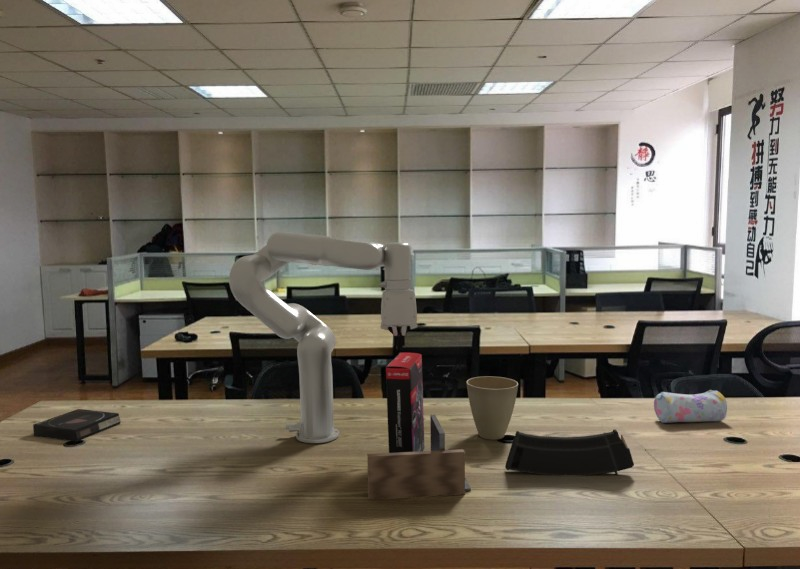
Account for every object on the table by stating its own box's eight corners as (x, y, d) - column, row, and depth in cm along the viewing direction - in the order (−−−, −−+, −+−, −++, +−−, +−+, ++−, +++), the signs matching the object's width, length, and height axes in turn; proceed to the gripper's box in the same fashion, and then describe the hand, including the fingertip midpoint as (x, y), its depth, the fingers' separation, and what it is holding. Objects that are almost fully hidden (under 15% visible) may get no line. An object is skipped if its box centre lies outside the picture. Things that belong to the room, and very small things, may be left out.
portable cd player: (77, 443, 174) (76, 430, 174) (34, 437, 180) (33, 424, 179) (120, 425, 190) (120, 413, 189) (79, 420, 195) (78, 408, 195)
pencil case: (712, 415, 191) (713, 386, 191) (730, 424, 183) (731, 393, 182) (650, 418, 189) (651, 389, 188) (666, 427, 180) (667, 397, 179)
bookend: (439, 492, 137) (439, 433, 136) (430, 468, 151) (430, 414, 150) (470, 491, 138) (470, 432, 137) (458, 467, 152) (458, 413, 150)
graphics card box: (413, 475, 147) (412, 366, 145) (386, 473, 149) (384, 365, 146) (424, 450, 164) (424, 352, 162) (400, 448, 165) (398, 351, 163)
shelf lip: (368, 499, 134) (367, 456, 133) (368, 496, 135) (367, 454, 135) (464, 494, 136) (464, 451, 135) (463, 491, 138) (463, 449, 137)
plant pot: (495, 448, 164) (495, 391, 163) (456, 435, 176) (455, 382, 174) (528, 435, 174) (528, 382, 173) (489, 424, 185) (489, 373, 184)
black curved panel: (496, 439, 146) (617, 405, 143) (495, 434, 149) (613, 401, 146) (516, 504, 147) (637, 472, 144) (515, 498, 151) (632, 466, 148)
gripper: (372, 287, 167) (374, 352, 168) (425, 286, 168) (426, 350, 170) (371, 285, 174) (372, 347, 176) (422, 283, 176) (423, 345, 177)
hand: (399, 348), depth 173 cm, fingers closed
